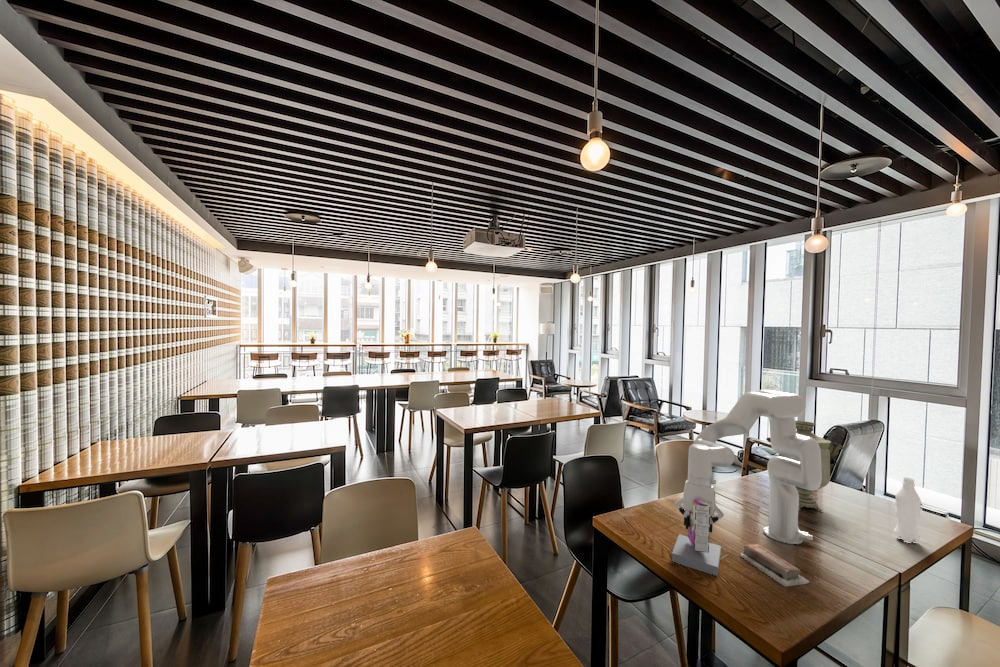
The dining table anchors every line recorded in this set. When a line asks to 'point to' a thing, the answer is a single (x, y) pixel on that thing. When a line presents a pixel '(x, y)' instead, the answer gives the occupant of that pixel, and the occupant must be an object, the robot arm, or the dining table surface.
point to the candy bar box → (699, 526)
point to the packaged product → (773, 565)
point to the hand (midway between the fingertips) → (697, 530)
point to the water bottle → (907, 512)
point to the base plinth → (696, 556)
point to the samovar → (824, 444)
